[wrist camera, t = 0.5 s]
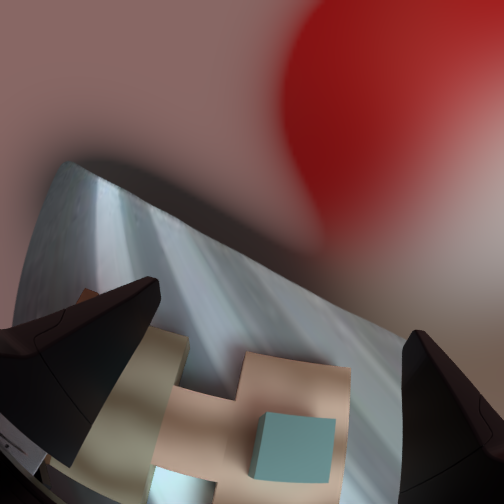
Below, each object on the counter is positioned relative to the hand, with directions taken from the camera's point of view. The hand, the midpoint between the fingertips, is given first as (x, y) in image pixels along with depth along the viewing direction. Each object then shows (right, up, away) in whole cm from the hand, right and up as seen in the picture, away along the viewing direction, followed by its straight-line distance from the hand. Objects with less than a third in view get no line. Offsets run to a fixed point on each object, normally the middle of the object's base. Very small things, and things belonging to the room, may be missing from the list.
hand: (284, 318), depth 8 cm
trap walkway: (-6, -13, +9) cm, 17 cm away
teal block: (+2, -13, +7) cm, 15 cm away
